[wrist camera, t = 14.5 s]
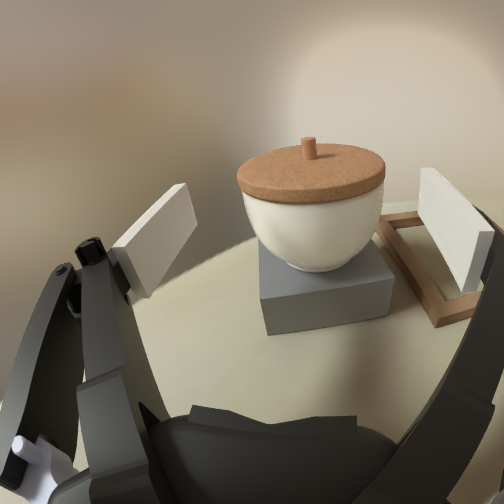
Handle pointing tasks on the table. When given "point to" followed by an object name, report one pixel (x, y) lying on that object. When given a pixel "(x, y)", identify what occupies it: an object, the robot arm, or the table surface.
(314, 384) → the table surface
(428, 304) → the walnut collar
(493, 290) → the robot arm
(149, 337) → the table surface
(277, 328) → the gray stand
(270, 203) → the lidded jar
